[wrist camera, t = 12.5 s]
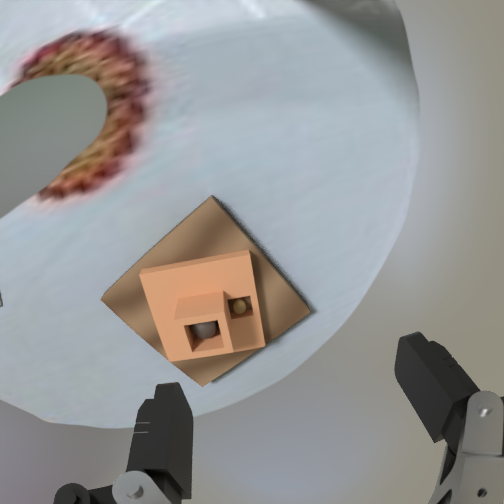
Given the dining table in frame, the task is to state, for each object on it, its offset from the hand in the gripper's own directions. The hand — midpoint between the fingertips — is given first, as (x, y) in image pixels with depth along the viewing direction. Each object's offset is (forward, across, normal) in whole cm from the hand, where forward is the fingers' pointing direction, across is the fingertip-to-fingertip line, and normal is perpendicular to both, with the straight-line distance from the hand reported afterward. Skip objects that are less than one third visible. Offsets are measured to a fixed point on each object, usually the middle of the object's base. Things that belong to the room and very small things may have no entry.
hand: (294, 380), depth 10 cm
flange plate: (+24, +6, +10) cm, 27 cm away
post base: (+26, +6, +11) cm, 29 cm away
